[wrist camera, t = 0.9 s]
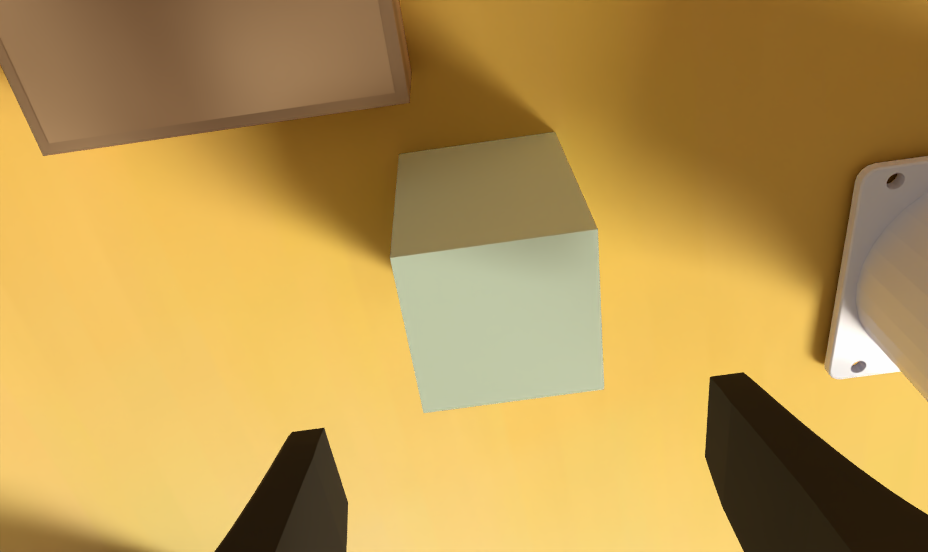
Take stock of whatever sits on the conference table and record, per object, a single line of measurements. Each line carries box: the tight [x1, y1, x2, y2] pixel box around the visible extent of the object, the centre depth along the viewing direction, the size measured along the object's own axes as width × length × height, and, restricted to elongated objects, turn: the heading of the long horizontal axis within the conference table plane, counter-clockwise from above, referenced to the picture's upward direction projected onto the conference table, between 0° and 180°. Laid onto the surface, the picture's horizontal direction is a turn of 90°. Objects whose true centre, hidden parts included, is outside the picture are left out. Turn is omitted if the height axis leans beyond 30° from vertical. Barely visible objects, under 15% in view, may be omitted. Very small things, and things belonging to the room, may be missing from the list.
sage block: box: [390, 132, 604, 413], centre depth 19 cm, size 4×4×6 cm
